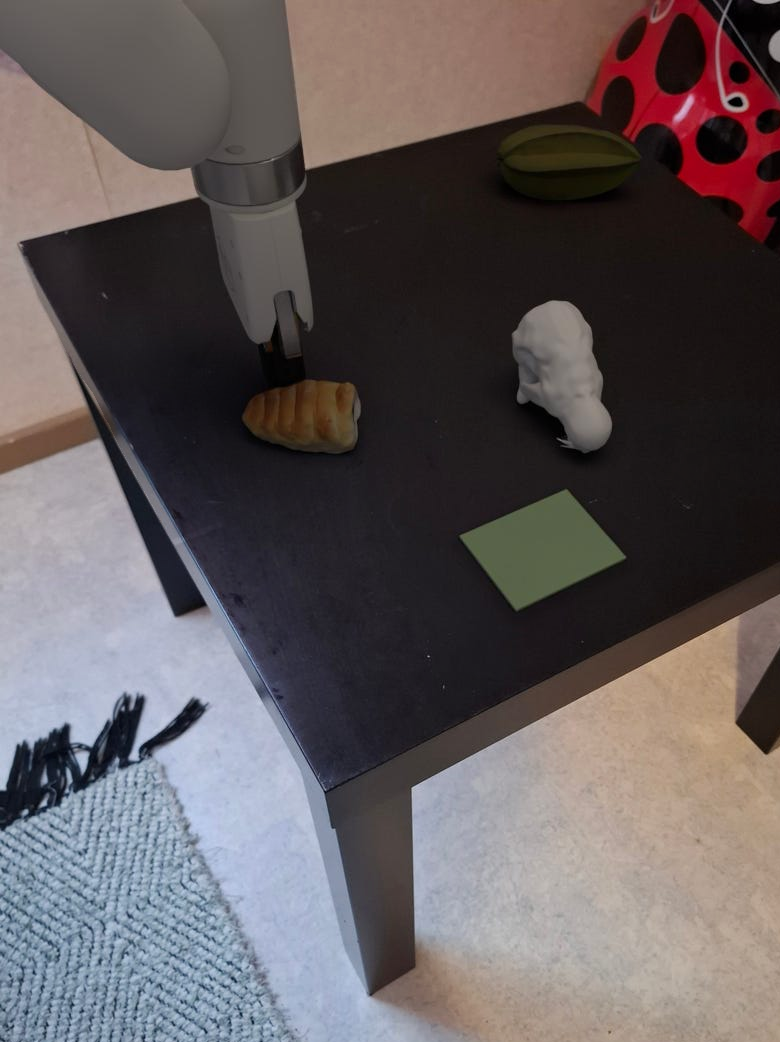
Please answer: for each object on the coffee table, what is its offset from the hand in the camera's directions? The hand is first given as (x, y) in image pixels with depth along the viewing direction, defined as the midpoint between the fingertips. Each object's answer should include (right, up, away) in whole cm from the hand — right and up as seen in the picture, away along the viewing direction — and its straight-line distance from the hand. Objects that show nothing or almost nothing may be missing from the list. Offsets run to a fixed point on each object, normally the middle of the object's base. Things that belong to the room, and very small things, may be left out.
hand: (285, 377), depth 76 cm
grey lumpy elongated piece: (+23, -3, +2) cm, 24 cm away
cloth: (+21, -15, -7) cm, 27 cm away
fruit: (+25, +26, +21) cm, 42 cm away
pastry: (+2, -5, -1) cm, 5 cm away
